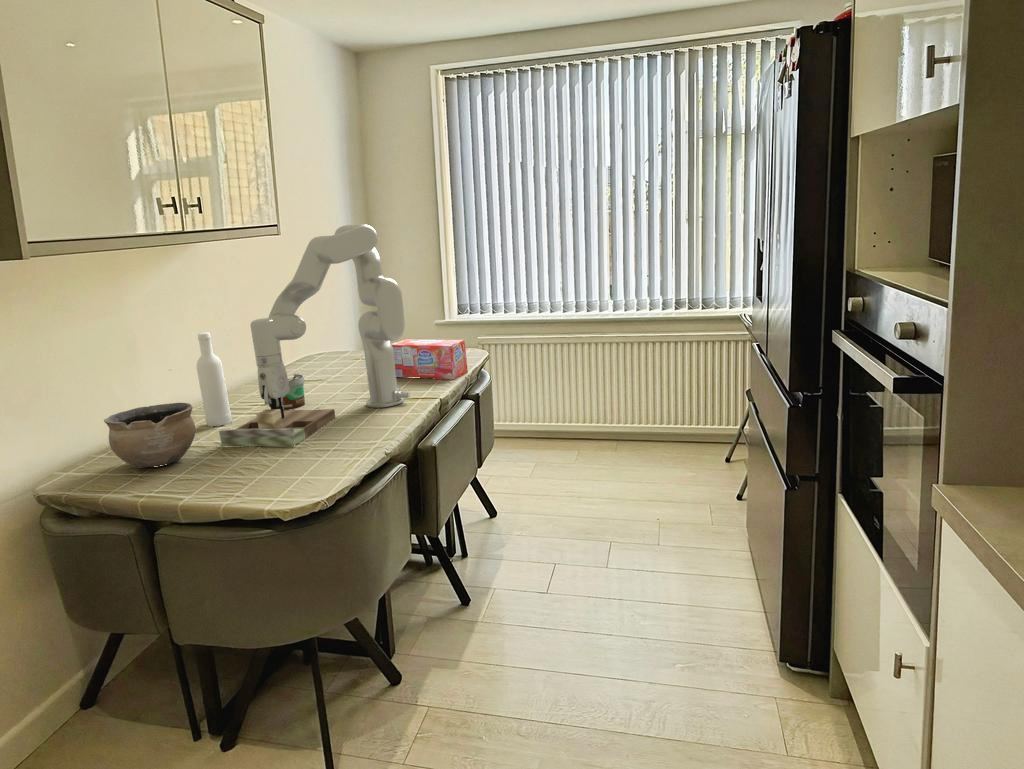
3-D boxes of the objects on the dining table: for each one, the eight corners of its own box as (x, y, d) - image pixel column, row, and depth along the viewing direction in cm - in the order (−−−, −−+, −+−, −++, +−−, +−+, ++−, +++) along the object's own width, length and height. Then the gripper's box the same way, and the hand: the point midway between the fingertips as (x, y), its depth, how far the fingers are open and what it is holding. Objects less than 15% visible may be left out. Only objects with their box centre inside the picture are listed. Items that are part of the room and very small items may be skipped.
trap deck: (335, 418, 241) (333, 403, 240) (294, 446, 215) (291, 429, 214) (270, 419, 246) (267, 404, 245) (222, 447, 220) (219, 430, 218)
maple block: (282, 425, 227) (280, 409, 225) (274, 430, 222) (271, 413, 221) (267, 425, 228) (265, 409, 227) (259, 430, 223) (256, 414, 222)
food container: (298, 410, 255) (294, 381, 253) (281, 410, 257) (277, 382, 254) (314, 400, 267) (310, 373, 265) (298, 401, 268) (294, 373, 266)
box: (469, 372, 293) (465, 337, 290) (453, 380, 282) (450, 344, 279) (409, 371, 304) (406, 337, 301) (392, 379, 293) (388, 344, 290)
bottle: (207, 422, 249) (190, 333, 242) (232, 418, 252) (216, 330, 245) (206, 428, 242) (189, 336, 235) (232, 424, 244) (216, 333, 237)
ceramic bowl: (111, 483, 196) (99, 428, 192) (117, 460, 215) (106, 410, 212) (202, 465, 204) (192, 412, 201) (200, 445, 224) (191, 396, 220)
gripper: (267, 365, 217) (277, 425, 221) (292, 354, 231) (301, 411, 236) (244, 365, 219) (254, 426, 223) (270, 355, 233) (279, 412, 237)
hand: (278, 418), depth 229 cm, fingers closed
